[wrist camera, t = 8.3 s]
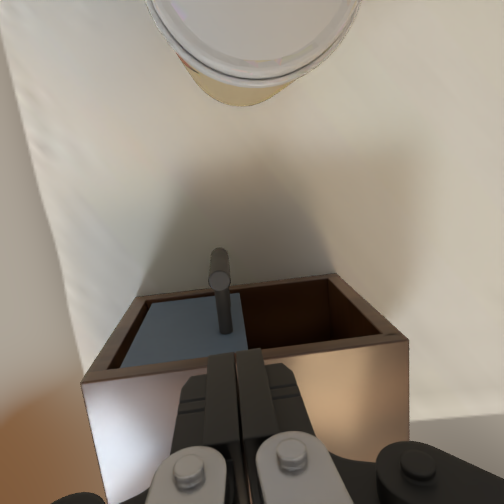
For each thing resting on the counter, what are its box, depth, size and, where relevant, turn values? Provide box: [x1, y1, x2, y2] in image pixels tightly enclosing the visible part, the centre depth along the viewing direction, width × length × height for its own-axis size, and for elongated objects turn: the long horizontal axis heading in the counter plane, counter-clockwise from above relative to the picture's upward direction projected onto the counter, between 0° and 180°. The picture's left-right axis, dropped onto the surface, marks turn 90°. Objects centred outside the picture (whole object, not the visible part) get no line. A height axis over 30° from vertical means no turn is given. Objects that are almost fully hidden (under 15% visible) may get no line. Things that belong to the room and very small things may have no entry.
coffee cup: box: [145, 0, 362, 106], centre depth 20 cm, size 9×9×12 cm
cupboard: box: [80, 273, 409, 504], centre depth 25 cm, size 10×16×12 cm, turn 96°
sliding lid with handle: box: [120, 248, 248, 368], centre depth 23 cm, size 5×7×9 cm
